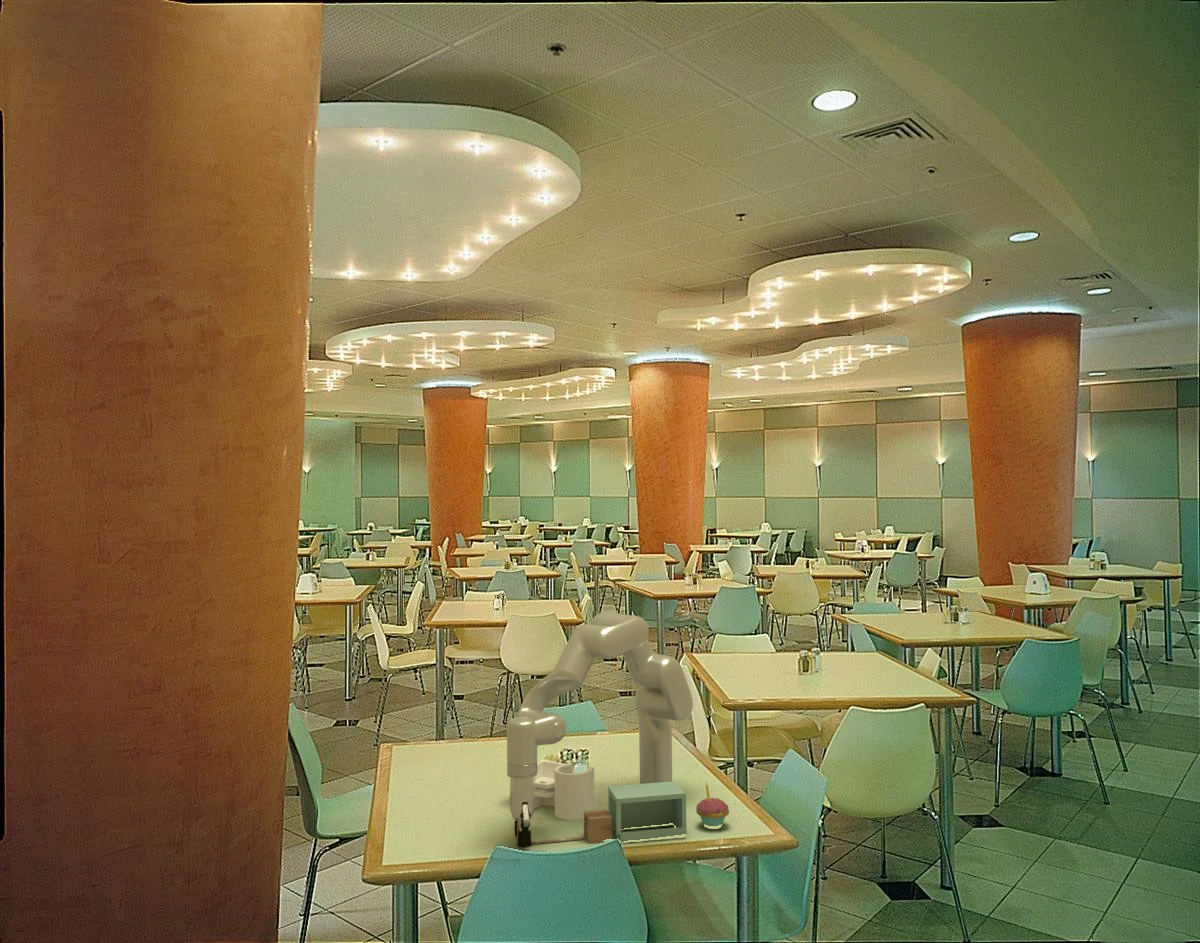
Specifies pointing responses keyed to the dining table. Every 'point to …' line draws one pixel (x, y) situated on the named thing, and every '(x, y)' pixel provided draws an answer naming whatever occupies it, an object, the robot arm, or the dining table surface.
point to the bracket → (563, 789)
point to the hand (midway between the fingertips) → (522, 840)
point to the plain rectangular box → (647, 809)
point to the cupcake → (712, 810)
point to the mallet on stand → (586, 828)
